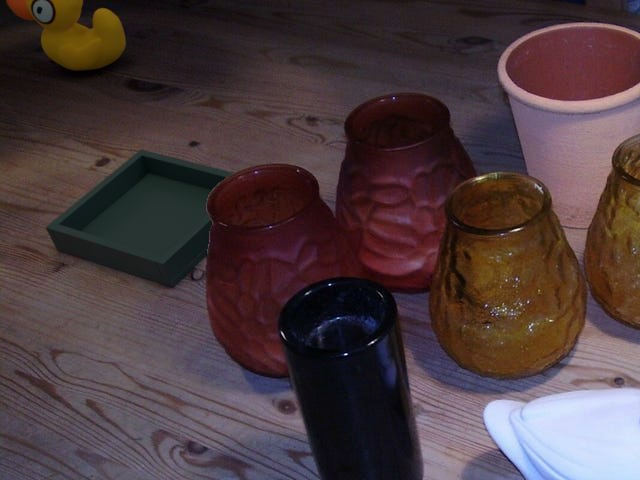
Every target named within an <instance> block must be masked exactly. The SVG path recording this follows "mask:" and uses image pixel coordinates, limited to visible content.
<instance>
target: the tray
mask: <svg viewBox="0 0 640 480" xmlns="http://www.w3.org/2000/svg"><path fill="white" fill-rule="evenodd" d="M233 173H234V172H232V171H228V170H224V169H219V168H216V167H212V166H209V165H204V164H200V163H196V162H192V161H189V160H185V159H180V158H177V157H173V156H169V155H165V154H162V153H157V152H153V151H149V150H146V149H142V148H141V149H140V150H138V151H137V152H136V153H134V154H133V155H132V156H131V157H130V158H128V159H127V160H126V161H125V162H124V163H122V164H121V165H120V166H118V167H117V168H116V169H115V170H113V171H112V172H111V173H110V174H108V175H107V176H106V177H105V178H104V179H102V180H101V182H99V183H98V184H97V185H95V186H94V187H92V188H91V189H90V190H89V191H88V192H86V193H85V194H84V195H83V196H81V198H79V199H78V200H77V201H75V203H73V204H71V206H70V207H68V208H67V209H66V210H65V211H63V212H62V213H61V214H59V216H57V217H56V218H55V219H54V220H52V221H51V222H50V223H48V224H47V225H46V226H45V229H46V231H47V233H48V236H49V237H50V239H51V241H52V243H53V245H54V246H55V247H54V248H55V249H56V250H57V251H59V252H61V253H65V254H68V255H72V256H74V257H78V258H80V259H84V260H87V261H89V262H93V263H97V264H99V265H103V266H105V267H109V268H112V269H115V270H117V271H120V272H124V273H126V274H130V275H134V276H136V277H140V278H143V279H146V280H149V281H153V282H156V283H158V284H161V285H164V286H168V287H171V288H174V287H175V286H176V285H177V284H178V283H180V281H181V280H182V279H184V277H185V276H186V275H188V273H189V272H191V271H192V270H193V268H195V267H196V266H197V265H198V264H199V263H200V262H201V261H202V260H203V259H204V258H205V257H206V256H207V255H208V254H207V249H208V244H209V231H210V228H211V226H212V221H211V219H210V217H209V215H208V213H207V211H206V202H207V198H208V195H209V194H210V192H211V191H212V189H213V188H214V187H215V186H216V185H217V184H218V183H219V182H221V181H222V180H224V179H225V178H226V177H228V176H229V175H231V174H233ZM206 254H207V255H206Z"/></svg>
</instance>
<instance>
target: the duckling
mask: <svg viewBox="0 0 640 480" xmlns="http://www.w3.org/2000/svg"><path fill="white" fill-rule="evenodd" d="M5 1H6V4H7V7H8V8H9V9H10V10H11V11H12V13H13V14H14V15H16V16H17V17H18V18H21V19H22V20H26V21H36V23H38V24H39V25H40V26H41V27H42V28H43V30H42V32H41V37H40V44H41V48H42V49H43V52H44V53H45V55H46V56H47V57H48V58H49V59H51V60H52V61H53V62H54V63H56V64H58V65H60V66H61V67H63V68H65V69H67V70H70V71H74V72H81V71H91V70H98V69H103V68H105V67H107V66H109V65H111V64H112V63H114V62H116V61H117V60H118V59H119V58H120V57H121V56H122V54H123V52H124V51H125V48H126V45H127V43H126V42H127V39H126V34H125V30H124V27H123V24H122V22H121V20H120V18H119V17H118V15H116V14H115V13H114V12H113V11H112V10H109V9H108V8H104V7H100V8H98V9H96V10H95V11H94V13H93V16H92V28H89V27H87V26H85V25H82V24H80V23H78V21H79V19H80V17H81V14H82V7H83V4H84V0H5Z"/></svg>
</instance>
